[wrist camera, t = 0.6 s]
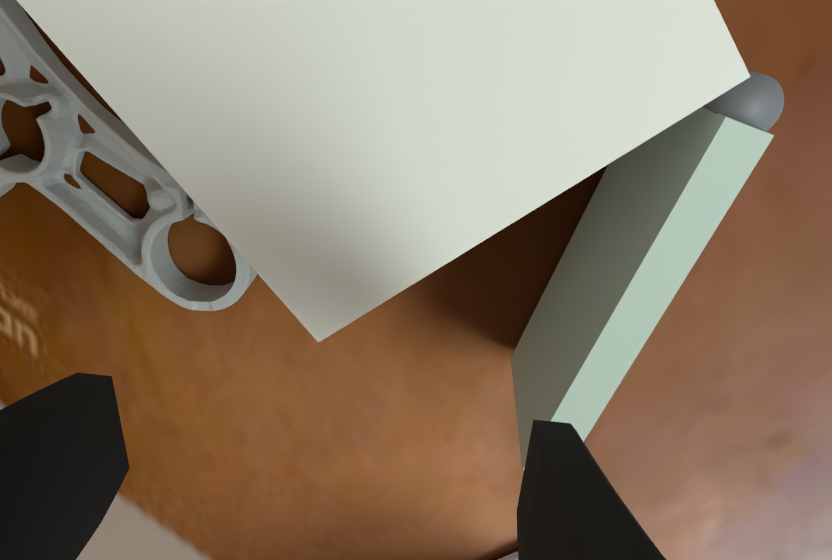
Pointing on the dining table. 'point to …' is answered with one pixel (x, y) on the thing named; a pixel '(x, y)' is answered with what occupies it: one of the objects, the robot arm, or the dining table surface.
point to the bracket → (116, 145)
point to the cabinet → (386, 118)
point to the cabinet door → (635, 255)
